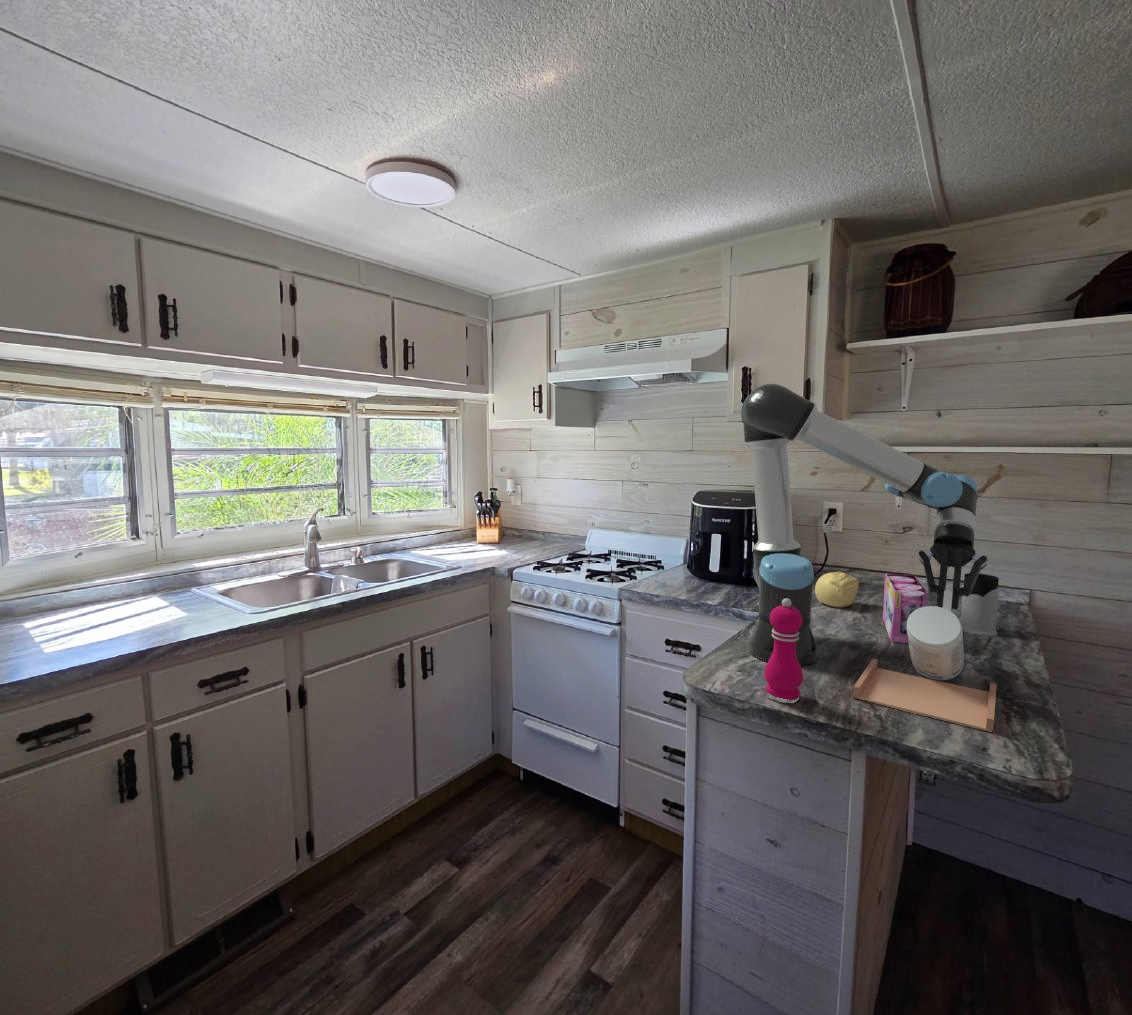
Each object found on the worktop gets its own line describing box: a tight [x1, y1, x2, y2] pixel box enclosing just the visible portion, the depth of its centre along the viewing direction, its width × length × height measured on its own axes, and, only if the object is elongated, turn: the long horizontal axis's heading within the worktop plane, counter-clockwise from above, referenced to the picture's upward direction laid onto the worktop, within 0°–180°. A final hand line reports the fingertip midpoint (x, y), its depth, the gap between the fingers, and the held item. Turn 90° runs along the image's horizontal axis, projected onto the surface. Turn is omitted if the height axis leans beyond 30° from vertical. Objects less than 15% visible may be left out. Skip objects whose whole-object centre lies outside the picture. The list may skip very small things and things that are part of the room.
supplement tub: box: [907, 605, 965, 681], centre depth 117 cm, size 10×10×15 cm
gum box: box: [882, 572, 929, 645], centre depth 151 cm, size 24×8×14 cm, turn 156°
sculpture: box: [814, 571, 860, 608], centre depth 178 cm, size 11×12×11 cm
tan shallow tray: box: [852, 658, 998, 732], centre depth 111 cm, size 19×22×2 cm
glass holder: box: [947, 572, 1000, 636], centre depth 155 cm, size 9×14×15 cm, turn 33°
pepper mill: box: [763, 598, 804, 700], centre depth 110 cm, size 7×7×20 cm
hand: (946, 619), depth 118 cm, fingers closed
